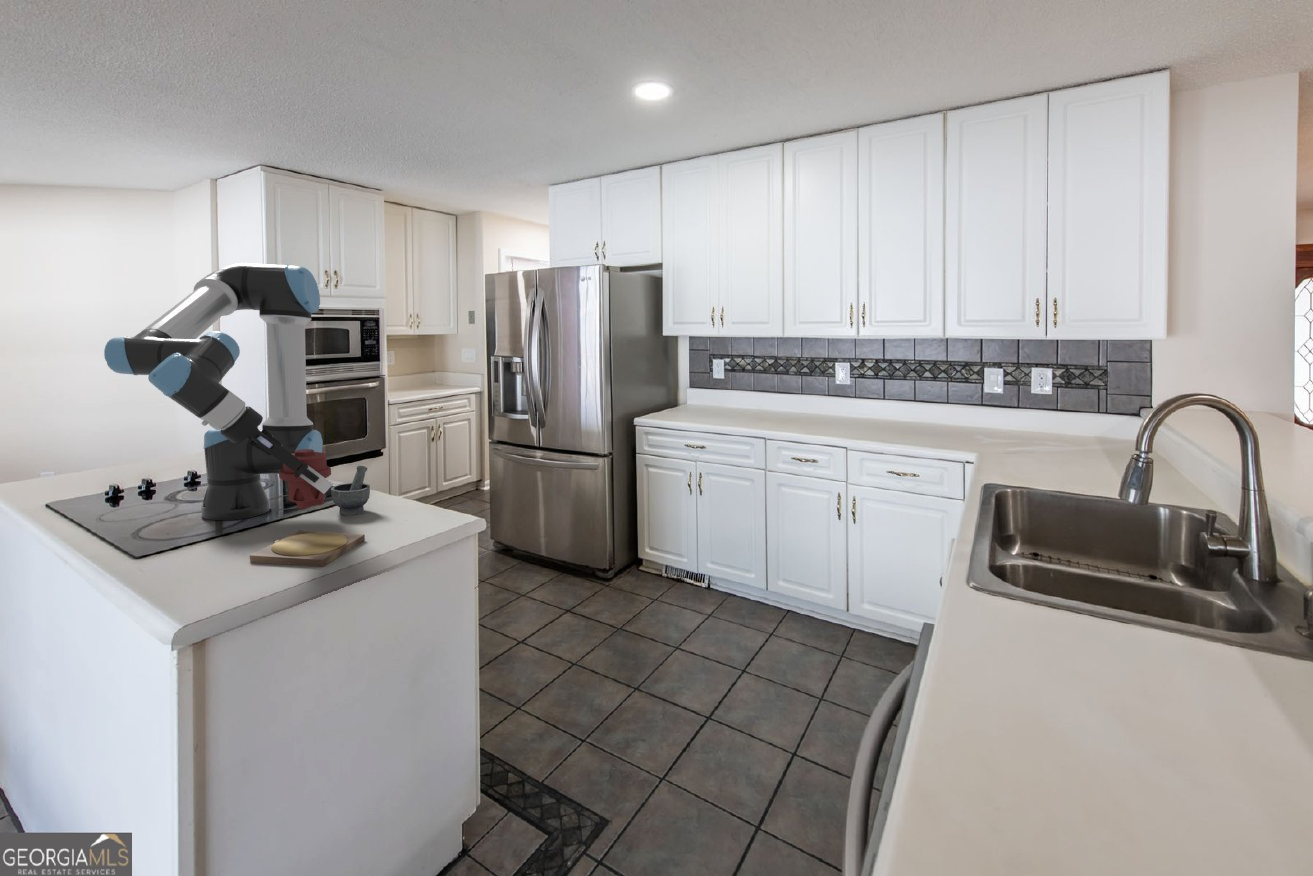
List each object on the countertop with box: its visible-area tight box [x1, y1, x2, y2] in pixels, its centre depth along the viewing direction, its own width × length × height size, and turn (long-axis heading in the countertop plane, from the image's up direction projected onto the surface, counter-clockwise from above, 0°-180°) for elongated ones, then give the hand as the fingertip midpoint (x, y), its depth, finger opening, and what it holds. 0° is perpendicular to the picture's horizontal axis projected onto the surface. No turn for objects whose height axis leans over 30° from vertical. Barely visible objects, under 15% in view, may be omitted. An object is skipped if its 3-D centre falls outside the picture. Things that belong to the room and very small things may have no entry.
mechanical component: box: [278, 449, 332, 510], centre depth 139 cm, size 12×10×10 cm
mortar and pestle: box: [330, 465, 371, 516], centre depth 172 cm, size 11×9×12 cm
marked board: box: [249, 530, 366, 567], centre depth 142 cm, size 17×16×2 cm
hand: (321, 483), depth 142 cm, fingers closed on mechanical component, 10 cm apart
